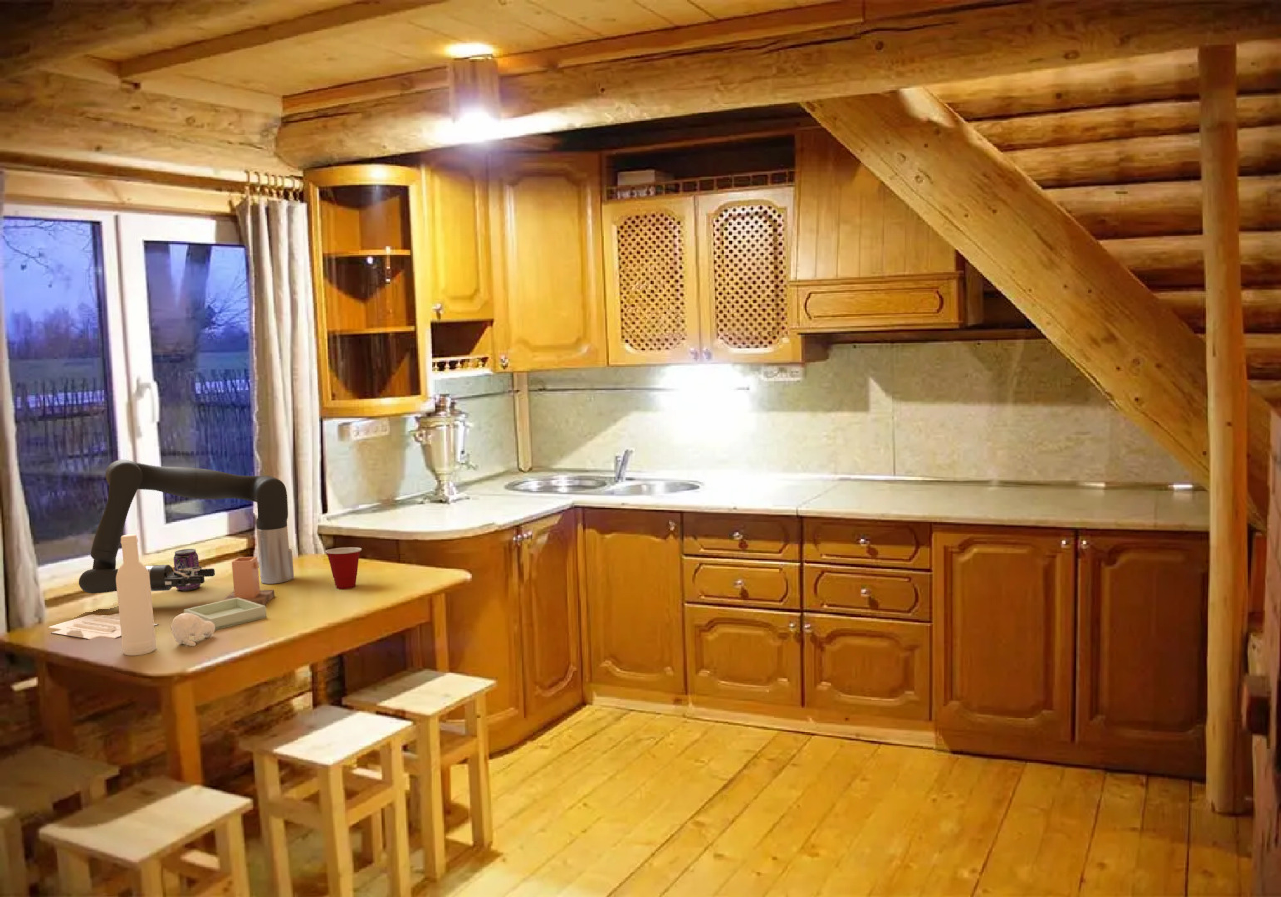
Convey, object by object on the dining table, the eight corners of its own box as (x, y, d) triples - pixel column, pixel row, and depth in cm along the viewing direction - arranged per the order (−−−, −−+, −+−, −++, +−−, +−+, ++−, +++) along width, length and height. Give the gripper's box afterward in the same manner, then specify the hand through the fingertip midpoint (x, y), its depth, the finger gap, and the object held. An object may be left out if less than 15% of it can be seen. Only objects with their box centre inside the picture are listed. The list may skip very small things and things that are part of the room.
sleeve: (241, 593, 333) (237, 557, 331) (263, 592, 333) (260, 556, 331) (234, 598, 327) (231, 561, 326) (257, 597, 327) (254, 560, 326)
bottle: (115, 653, 284) (104, 537, 280) (142, 645, 291) (131, 531, 287) (137, 657, 280) (125, 539, 276) (163, 648, 287) (152, 533, 283)
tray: (238, 608, 324) (237, 597, 323) (266, 617, 313) (265, 606, 313) (184, 621, 312) (183, 609, 312) (211, 631, 301) (210, 619, 301)
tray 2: (102, 614, 326) (101, 601, 325) (169, 627, 313) (168, 614, 312) (36, 633, 308) (35, 620, 307) (105, 648, 295) (104, 635, 295)
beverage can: (172, 589, 350) (168, 551, 348) (194, 584, 355) (191, 547, 353) (182, 592, 345) (179, 554, 343) (204, 588, 350) (201, 550, 348)
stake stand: (234, 598, 336) (231, 572, 335) (274, 596, 336) (272, 570, 335) (220, 608, 324) (218, 581, 323) (262, 607, 324) (260, 580, 323)
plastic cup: (369, 582, 350) (366, 544, 348) (357, 591, 339) (354, 552, 337) (335, 582, 351) (332, 544, 349) (322, 591, 340) (319, 552, 339)
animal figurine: (168, 614, 288) (204, 606, 298) (168, 646, 288) (205, 637, 299) (184, 616, 285) (221, 609, 295) (184, 648, 285) (221, 640, 296)
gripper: (142, 571, 321) (199, 569, 321) (161, 560, 335) (216, 557, 335) (144, 597, 322) (201, 594, 322) (164, 584, 336) (218, 582, 336)
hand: (209, 575), depth 329 cm, fingers open, 8 cm apart
